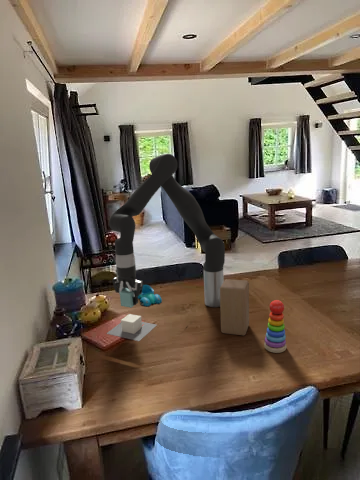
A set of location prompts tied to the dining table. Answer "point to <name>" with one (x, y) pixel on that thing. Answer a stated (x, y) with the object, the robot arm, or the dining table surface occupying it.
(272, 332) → the stacking toy
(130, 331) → the cream brick
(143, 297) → the toy car
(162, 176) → the robot arm
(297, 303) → the dining table surface
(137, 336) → the board
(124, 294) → the teal brick
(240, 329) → the block
